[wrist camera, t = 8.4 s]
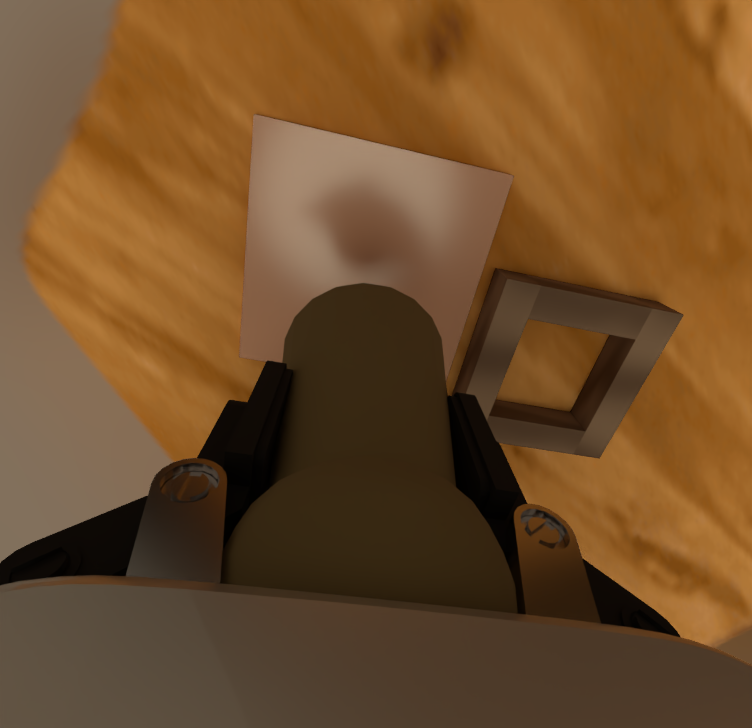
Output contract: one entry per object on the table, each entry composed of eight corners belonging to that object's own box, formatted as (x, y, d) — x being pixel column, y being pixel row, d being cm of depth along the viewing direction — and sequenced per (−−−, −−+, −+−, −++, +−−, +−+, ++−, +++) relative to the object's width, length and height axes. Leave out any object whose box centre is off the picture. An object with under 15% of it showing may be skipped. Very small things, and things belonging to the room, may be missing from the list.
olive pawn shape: (348, 449, 17) (327, 836, 8) (248, 345, 15) (30, 711, 5) (472, 376, 16) (647, 740, 6) (383, 247, 13) (435, 504, 4)
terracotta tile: (441, 387, 31) (442, 391, 30) (241, 353, 29) (239, 357, 29) (510, 175, 24) (514, 175, 24) (256, 114, 23) (253, 114, 22)
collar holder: (584, 438, 34) (599, 458, 31) (444, 415, 32) (451, 435, 30) (658, 302, 28) (683, 314, 26) (495, 268, 27) (507, 278, 25)
